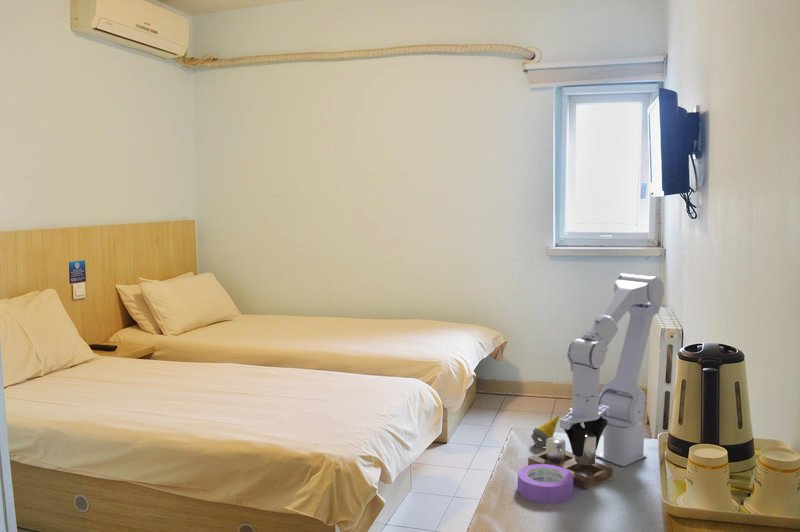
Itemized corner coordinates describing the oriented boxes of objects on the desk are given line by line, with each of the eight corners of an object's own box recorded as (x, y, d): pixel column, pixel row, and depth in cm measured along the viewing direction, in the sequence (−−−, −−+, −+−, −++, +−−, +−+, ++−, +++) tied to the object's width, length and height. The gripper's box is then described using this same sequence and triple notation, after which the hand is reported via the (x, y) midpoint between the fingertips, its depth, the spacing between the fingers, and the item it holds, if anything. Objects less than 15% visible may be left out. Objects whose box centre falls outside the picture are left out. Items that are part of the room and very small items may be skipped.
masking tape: (522, 476, 160) (522, 460, 159) (575, 483, 156) (576, 467, 155) (512, 499, 149) (513, 482, 148) (569, 507, 145) (569, 490, 144)
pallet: (556, 454, 171) (556, 446, 171) (612, 477, 158) (612, 468, 158) (528, 465, 165) (528, 457, 165) (583, 489, 152) (584, 480, 152)
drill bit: (527, 443, 180) (551, 412, 182) (544, 456, 177) (568, 425, 179) (524, 437, 175) (548, 406, 177) (542, 450, 172) (566, 418, 174)
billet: (583, 455, 160) (584, 429, 160) (599, 461, 157) (600, 436, 156) (570, 459, 158) (571, 434, 157) (586, 466, 154) (587, 440, 154)
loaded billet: (554, 460, 168) (554, 435, 167) (569, 466, 164) (569, 441, 163) (541, 465, 165) (542, 440, 164) (556, 471, 162) (556, 446, 161)
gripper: (591, 382, 163) (590, 439, 165) (549, 395, 154) (548, 455, 156) (617, 390, 157) (616, 448, 159) (575, 403, 149) (574, 465, 151)
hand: (584, 452), depth 157 cm, fingers closed on billet, 4 cm apart
